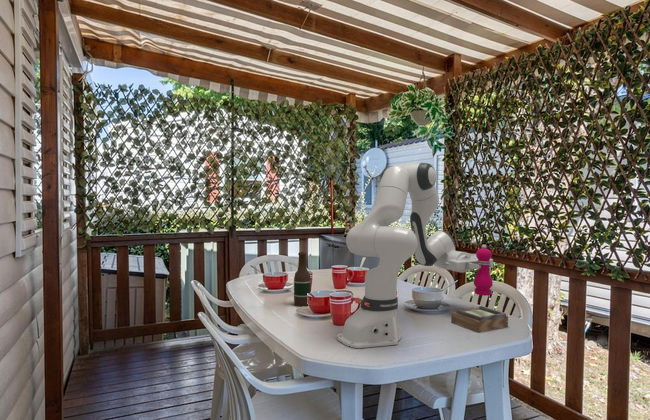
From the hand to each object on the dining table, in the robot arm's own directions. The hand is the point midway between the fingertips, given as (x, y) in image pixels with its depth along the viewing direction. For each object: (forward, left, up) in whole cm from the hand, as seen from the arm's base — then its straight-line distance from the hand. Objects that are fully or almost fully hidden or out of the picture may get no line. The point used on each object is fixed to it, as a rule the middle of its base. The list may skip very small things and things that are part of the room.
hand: (485, 266), depth 176 cm
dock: (-8, -5, -21) cm, 23 cm away
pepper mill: (0, +1, -12) cm, 12 cm away
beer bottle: (-57, +53, -21) cm, 81 cm away
